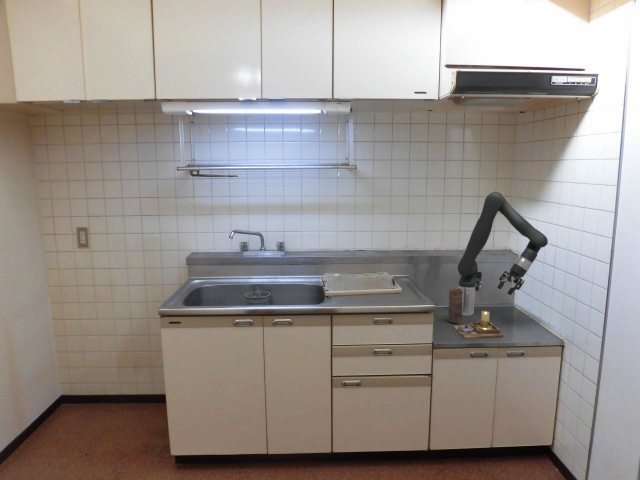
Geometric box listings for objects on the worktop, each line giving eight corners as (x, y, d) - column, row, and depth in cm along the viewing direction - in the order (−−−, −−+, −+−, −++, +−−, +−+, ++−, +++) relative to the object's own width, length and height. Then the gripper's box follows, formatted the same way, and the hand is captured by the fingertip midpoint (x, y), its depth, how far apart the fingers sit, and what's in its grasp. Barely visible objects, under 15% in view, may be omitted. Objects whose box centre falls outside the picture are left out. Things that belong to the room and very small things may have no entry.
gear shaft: (473, 327, 223) (474, 309, 222) (488, 326, 224) (489, 308, 222) (480, 333, 215) (481, 315, 214) (495, 332, 216) (496, 314, 214)
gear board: (452, 327, 227) (453, 319, 226) (487, 325, 228) (488, 317, 227) (465, 339, 211) (465, 330, 210) (502, 337, 212) (503, 328, 212)
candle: (452, 325, 229) (454, 291, 226) (445, 320, 236) (446, 287, 233) (464, 323, 231) (466, 289, 228) (456, 319, 238) (458, 286, 235)
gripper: (507, 259, 227) (490, 283, 228) (525, 267, 213) (507, 293, 215) (516, 265, 229) (500, 289, 231) (534, 274, 216) (517, 299, 217)
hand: (503, 291), depth 223 cm, fingers open, 8 cm apart
